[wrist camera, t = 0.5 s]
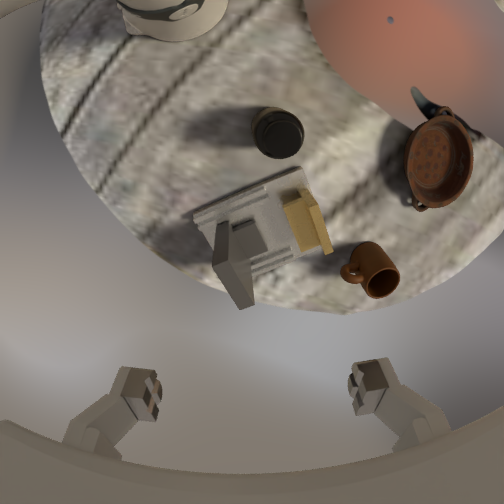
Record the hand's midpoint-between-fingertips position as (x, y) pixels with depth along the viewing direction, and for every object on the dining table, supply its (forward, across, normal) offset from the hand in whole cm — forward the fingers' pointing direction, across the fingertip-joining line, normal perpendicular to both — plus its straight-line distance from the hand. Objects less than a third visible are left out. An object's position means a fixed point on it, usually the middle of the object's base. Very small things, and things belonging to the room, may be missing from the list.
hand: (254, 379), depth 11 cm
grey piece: (+41, -1, +10) cm, 42 cm away
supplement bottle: (+39, -4, -8) cm, 40 cm away
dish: (+41, -35, -5) cm, 55 cm away
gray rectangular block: (+39, +2, +11) cm, 41 cm away
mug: (+43, -21, +17) cm, 51 cm away
